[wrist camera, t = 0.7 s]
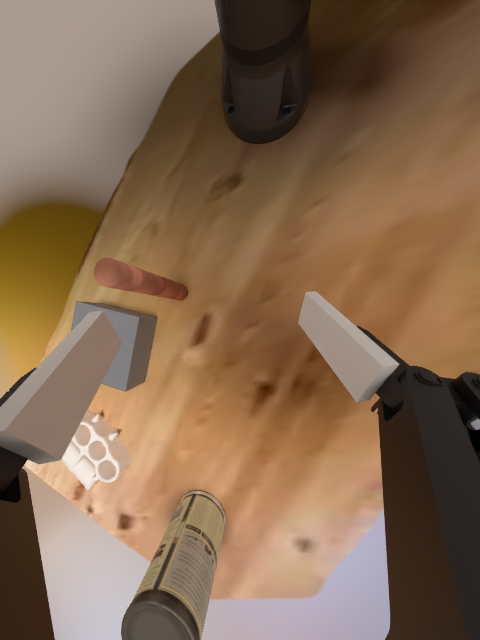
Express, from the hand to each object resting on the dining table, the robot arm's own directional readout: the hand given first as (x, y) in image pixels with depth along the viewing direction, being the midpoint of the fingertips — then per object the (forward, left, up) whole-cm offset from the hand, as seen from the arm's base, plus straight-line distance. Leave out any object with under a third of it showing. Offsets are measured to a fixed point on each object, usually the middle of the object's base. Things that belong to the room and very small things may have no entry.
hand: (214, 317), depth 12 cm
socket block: (+11, -26, -21) cm, 35 cm away
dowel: (-2, -15, -21) cm, 26 cm away
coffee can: (+41, -1, -21) cm, 46 cm away
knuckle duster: (+35, -28, -21) cm, 50 cm away
